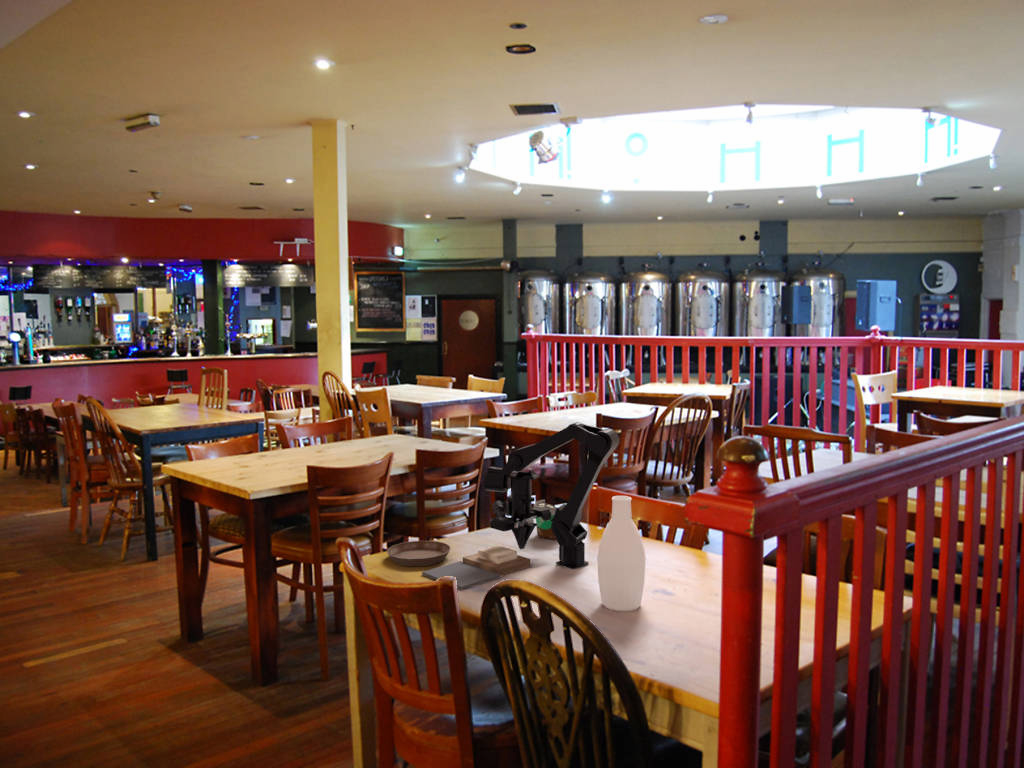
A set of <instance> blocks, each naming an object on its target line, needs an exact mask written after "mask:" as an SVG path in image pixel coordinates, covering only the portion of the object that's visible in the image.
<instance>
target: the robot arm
mask: <svg viewBox="0 0 1024 768" xmlns="http://www.w3.org/2000/svg"><path fill="white" fill-rule="evenodd" d="M573 440H575V441H578V442H579V443H581V444H583V445H585V446H588V449H587V450H588V452H587V460H586V461H585V464H584V466H583V469H582V470H581V472H580V475H579V477H578V479H577V482H575V486H574V487H573V490H572V492H571V493H570V496H569V498H568V500H567V502H566V503H562V504H561V505H560V506H558V507H556V511H555V514H554V517H553V518H552V519H551V512H550V510H549V509H546V508H542V507H534V506H533V507H532V502H536V501H535V497H534V496H532V480H533V481H534V480H536V479H537V478H539V477H540V476H539V474H538V473H536V471H535V470H534V469H530V470H528V471H524V470H526V469H528V468H530V467H531V466H533V465H534V464H536V462H538V461H539V460H540V459H541V458H542V457H543V456H545V455H546V454H549V453H550V452H552V451H553V450H556V449H558V448H559V447H562V446H564V445H565V444H568V443H569V442H571V441H573ZM619 443H620V437H619V435H618V433H617V431H615V430H614V429H612V428H604V429H603V428H601V427H598V426H597V427H596V426H592V425H587V424H585V423H582V422H578V421H576V422H573V423H571V424H569V425H568V426H566V427H565V428H563V429H561V430H559V431H557V432H555V433H554V434H552V435H550V436H548V437H546V438H544V439H542V440H540V441H539V442H537V443H533V444H531V445H526V446H523V447H520V448H518V449H515V450H513V451H511V452H509V453H508V456H507V461H506V463H505V464H504V466H503V467H495V466H488V467H487V469H486V470H487V471H486V473H485V474H484V475H485V476H484V478H483V488H484V490H485V491H487V492H488V491H489V492H498V493H507V492H508V491H509V490H510V496H508V497H507V498H506V502H502V501H501V500H496V501H493V502H491V503H492V504H491V505H492V506H491V509H492V512H493V514H497V516H495V517H492V518H491V519H490V520H489V523H490V524H489V526H490V529H493V530H497V531H499V532H500V531H501V532H509V531H512V533H513V536H514V538H515V541H516V544H517V546H518V548H519V550H524V549H525V547H526V545H527V544H528V541H529V539H530V537H531V535H532V533H533V532H534V530H535V529H536V527H537V524H536V522H535V521H534V519H535V520H536V518H539V517H542V519H543V521H546V520H550V519H551V520H550V521H553V522H552V524H551V529H552V532H553V534H554V535H555V536H556V539H557V540H556V541H557V544H558V561H556V562H555V564H556V565H558V566H561V567H564V568H567V569H571V570H575V569H578V568H581V567H584V566H587V565H589V561H586V560H585V559H586V558H585V557H586V556H585V553H586V552H585V551H586V550H585V549H586V548H585V542H583V541H584V540H585V539H586V538H587V535H588V531H587V530H586V529H585V527H584V526H583V525H582V524H581V521H582V517H583V516H582V512H583V507H584V505H585V503H586V501H587V499H588V496H589V495H590V494H591V493H590V492H591V490H592V488H593V486H594V484H595V482H596V480H597V478H598V475H599V474H600V472H601V470H602V467H603V465H604V463H605V462H607V460H608V459H609V458H610V457H611V455H612V454H613V452H614V451H615V450H616V448H618V446H619ZM514 472H516V473H514ZM504 514H505V515H504Z"/></svg>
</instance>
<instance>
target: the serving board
mask: <svg viewBox="0 0 1024 768" xmlns="http://www.w3.org/2000/svg"><path fill="white" fill-rule="evenodd" d="M462 562H465V563H468V564H471V565H474V566H477V567H480V568H483V569H485V570H488V571H491V572H494V573H497V574H500V577H501V576H504V575H507V574H510V573H513V572H517V571H521V570H523V569H526V568H529V566H530V567H531V558H530V557H529V558H528V557H525V556H522V555H518V554H517V558H516V559H513V560H510V561H506V562H503V563H500V564H497V563H494V562H491V561H488V560H485V559H482V558H479V557H478V553H473V554H470V555H466V556H463V557H462Z"/></svg>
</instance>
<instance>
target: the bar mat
mask: <svg viewBox="0 0 1024 768" xmlns="http://www.w3.org/2000/svg"><path fill="white" fill-rule="evenodd" d="M421 573H422V576H424V577H426V578H429V579H431V580H434V581H437V580H436V579H438V578H440V577H444V576H453V577H456V580H457V587H458V588H457V589H458V590H460V591H463V590H466V589H468V588H473V587H475V585H476V586H478V585H481V584H484V583H488V582H490V581H494V580H497V579H500V578H501V576H500V574H497V573H494V572H491V571H488V570H485V569H483V568H480V567H477V566H474V565H471V564H468V563H465V562H463V560H462V561H461V560H459V561H455V562H452V563H449V564H446V565H442V566H438V567H434V568H432V569H428V570H425V571H424V570H423V571H421ZM472 586H473V587H472ZM465 588H466V589H465Z"/></svg>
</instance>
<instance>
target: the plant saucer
mask: <svg viewBox="0 0 1024 768" xmlns="http://www.w3.org/2000/svg"><path fill="white" fill-rule="evenodd" d="M451 549H452V548H451V546H450V544H447V543H446V542H445V543H444V542H441V541H438V540H437V541H436V540H434V541H433V540H414V541H413V540H412V541H406V542H401V543H398V544H393V545H392V546H390V547H389V548H387V550H386V554H387V555H388V557H389V558H390V559H391V560H392V561H393V562H394V563H395V564H397V565H400V566H404V567H423V566H424V567H425V566H431V565H436V564H438V563H440V562H442V561H444V560H445V559H446V557H447V556H448V554H449V553H450V550H451Z"/></svg>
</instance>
